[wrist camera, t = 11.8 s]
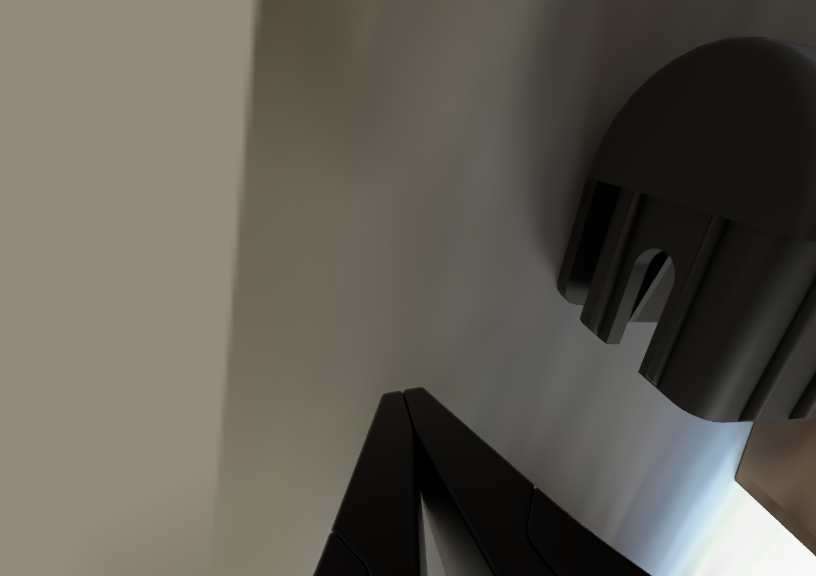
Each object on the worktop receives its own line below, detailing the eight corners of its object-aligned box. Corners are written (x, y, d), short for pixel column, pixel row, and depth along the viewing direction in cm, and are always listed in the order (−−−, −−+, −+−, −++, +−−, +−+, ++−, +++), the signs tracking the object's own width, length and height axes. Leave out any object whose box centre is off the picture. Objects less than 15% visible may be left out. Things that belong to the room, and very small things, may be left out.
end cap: (882, 102, 13) (1363, 104, 7) (776, 304, 16) (1056, 431, 10) (601, 55, 11) (937, -2, 5) (538, 295, 14) (702, 448, 8)
